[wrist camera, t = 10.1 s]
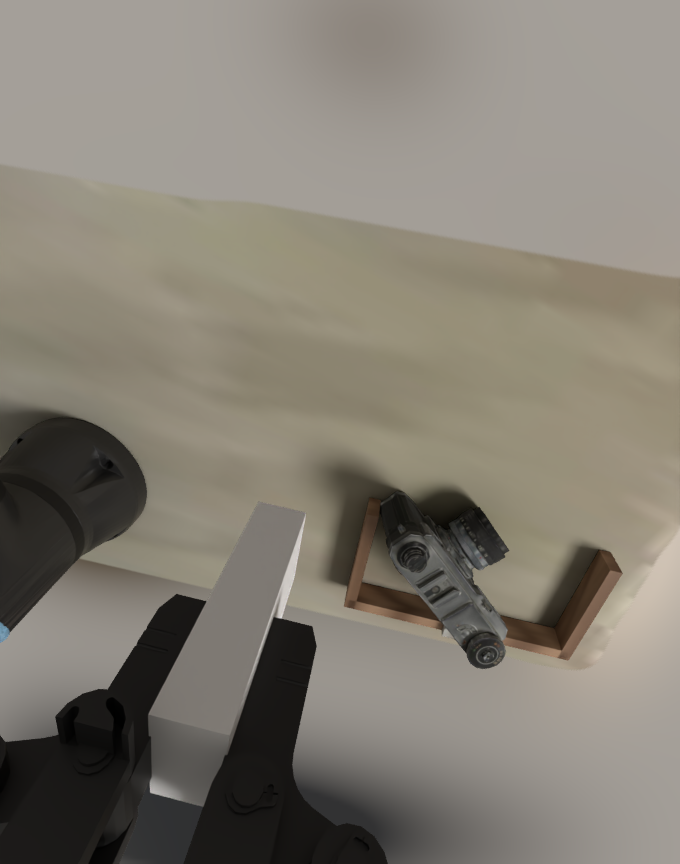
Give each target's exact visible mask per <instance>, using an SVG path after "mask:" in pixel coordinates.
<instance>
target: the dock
mask: <svg viewBox="0 0 680 864" xmlns="http://www.w3.org/2000/svg"><path fill="white" fill-rule="evenodd" d="M380 502H381V500H378V499H374V498H369V502H368V506H367V510H366V514H365V518H364V522H363V526H362V530H361V534H360V538H359V542H358V546H357V550H356V554H355V558H354V562H353V566H352V570H351V574H350V578H349V582H348V587H347V592H346V598H345V604H344V607H348V608H353V609H357V610H361V611H365V612H369V613H373V614H377V615H382V616H386V617H390V618H394V619H398V620H402V621H407V622H411V623H415V624H419V625H423V626H427V627H431V628H436V629H440V630H442V636H444V637H448V638H452V639H454V637H453V636H452V635H451V634H450V632H449V631H448V630H447V629H446V628H445V626H444V625H443V624H442V623H441V621H440V620H439V619H438V618H437V616H436V615H435V614H434V613H433V611H432V610H431V609H430V608H429V606H428V605H427V604H426V603H425V602H424V600H423V599H422V598H421V597H420V596H416V595H412V594H408V593H404V592H400V591H395V590H391V589H387V588H383V587H379V586H374V585H370V584H366V583H362V578H363V575H364V571H365V567H366V563H367V560H368V556H369V552H370V548H371V545H372V541H373V537H374V533H375V530H376V526H377V522H378V518H379V511H380ZM622 574H623V573H622V571H621V570H620V568H619V566H618V564H617V563H616V561H615V559H614V557H613V555H612V554H611V552H606V551H602V550H599V551H598V553H597V554H596V556H595V558H594V560H593V561H592V563H591V565H590V567H589V568H588V570H587V572H586V574H585V575H584V577H583V579H582V581H581V582H580V584H579V586H578V588H577V589H576V591H575V593H574V595H573V596H572V598H571V600H570V602H569V603H568V605H567V607H566V609H565V610H564V612H563V614H562V616H561V617H560V619H559V621H558V623H557V624H556V626H555V628H551V627H547V626H543V625H538V624H534V623H530V622H526V621H522V620H517V619H513V618H509V617H505V616H501V615H500V616H501V618H502V620H503V621H504V623H505V625H506V627H507V629H508V631H507V634H506V638H505V640H503V641H502V642H503V644H504V645H506V646H510V647H515V648H519V649H523V650H527V651H531V652H535V653H539V654H544V655H548V656H552V657H556V658H560V659H564V660H569V659H570V657H571V655H572V654H573V652H574V651H575V649H576V647H577V646H578V644H579V643H580V641H581V639H582V638H583V636H584V635H585V633H586V631H587V630H588V628H589V627H590V625H591V623H592V622H593V620H594V618H595V617H596V615H597V614H598V612H599V610H600V609H601V607H602V606H603V604H604V602H605V601H606V599H607V598H608V596H609V594H610V593H611V591H612V590H613V588H614V586H615V585H616V583H617V582H618V580H619V578H620V577H621V575H622Z"/></svg>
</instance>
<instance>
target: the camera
mask: <svg viewBox="0 0 680 864" xmlns="http://www.w3.org/2000/svg"><path fill="white" fill-rule="evenodd" d="M380 514H381V518H382V521H383V525H384V529H385V534H386V537H387V539H386V543H387V546H388V548H389V555H390V557H391V559H392V560H393V563H394V565H395V567H396V568H397V570H398V571H399V573H400V574H403V575H404V577H405V578H406V579H407V580H408V582H409V583H410V584H411V585H412V587H413V588H414V589H415V590H416V592H417V593H418V594H419V595H420V597H421V598H422V599H423V600H424V602H425V603H426V604H427V605H428V606H429V608H430V609H431V610H432V611H433V613H434V614H435V615H436V616H437V618H438V619H439V620H440V621H441V623H442V624H443V625H444V626H445V628H446V629H447V630H448V631H449V632H450V634H451V635H452V636H453V637H454V639H455V640H456V641H457V642H458V644H459V645H460V646H461V647H462V649H463V650H464V651H465V652H466V653H467V658H468V660H469V662H470V663H471V664H472V665H473V666H475V667H476V668H481V669H485V668H491V667H494V666H496V665H498V664H499V663H500V662H501V661H502V659H503V658H504V656H505V652H506V650H505V646H504V644H503V642H502V641H503V640H505V638H506V634H507V631H508V629H507V627H506V625H505V623H504V621H503V620H502V618H501V616H500V615H499V614H498V612H497V611H496V610H495V608H494V607H493V606H492V605H491V603H490V602H489V601H488V599H487V598H486V596H485V595H484V594H483V592H482V591H481V590H480V588H479V587H478V586H477V585H474V581H473V579H472V577H473V573H472V569H473V568H474V567H475V568H476V569H478V570H482V569H484V567H486V566H488V565H492V564H494V563H496V562H498V561H500V560H501V559H503V558H505V555H504V554H505V553H506V552H508V551H509V549H508V548H507V546H506V545H505V544H504V542H503V541H502V539H501V538H500V536H499V535H498V533H497V532H496V530H495V529H494V527H493V526H492V525H491V523H490V521H489V520H488V518H487V517H486V515H485V514H484V513H483V511H482V510H481V509H480V507H478V508H477V509H475V510H474V511H473V509H472V508H470V509H469V510H467V511H465V512H464V513H462V515H460V516H459V517H458V519H456V520H454V521H452V522H450V523H449V524H448V525H449V528H450V529H449V530H445V529H444V528H443V527H441V526H440V525H438V527H437V526H436V524H435V523H434V522H433V521H432V519H431V518H430V517H429V516H428V515H427V516H425V517H424V515H423V514H422V513H421V511H420V510H419V509H418V507H417V506H416V505H415V503H414V502H413V501H412V500H411V499H410V498H409V497H408V496H407V495H406V494H405V493H402V492H395V493H394V494H392V495H391V496H390V497H388V498H387V499H386V500H384V501H383V502H381V503H380Z"/></svg>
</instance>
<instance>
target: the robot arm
mask: <svg viewBox="0 0 680 864" xmlns="http://www.w3.org/2000/svg"><path fill="white" fill-rule="evenodd" d="M146 497H147V490H146V483H145V479H144V476H143V474H142V471H141V469H140V467H139V465H138V463H137V462H136V460H135V459H134V457H133V456H132V455H131V453H130V452H129V451H128V450H127V449H126V448H125V447H124V446H123V445H122V444H121V443H120V442H119V441H118V440H117V439H116V438H114V437H113V436H112V435H110V434H109V433H107V432H106V431H104V430H102V429H101V428H99V427H97V426H95V425H92V424H90V423H87V422H84V421H81V420H77V419H71V418H54V419H49V420H46V421H43V422H41V423H39V424H37V425H36V426H34V427H32V428H30V429H29V430H27V431H25V432H24V433H22V434H21V435H20V436H19V437H18V438H17V439H16V440H15V441H14V442H13V444H12V445H11V447H10V448H9V450H8V452H7V453H6V454H5V455H4V456H3V457H2V458H1V460H0V643H1V642H3V641H4V640H5V639H6V638H7V637H8V635H9V633H10V632H11V631H12V629H13V628H14V627H15V626H16V625H17V624H18V623H19V622H20V621H21V620H22V619H23V618H24V617H25V615H26V614H27V613H28V612H29V611H30V610H31V609H32V608H33V607H34V606H35V605H36V604H37V603H38V601H39V600H40V599H41V598H42V597H43V596H44V595H45V594H46V593H47V592H48V591H49V590H50V589H51V587H52V586H53V585H54V584H55V583H56V582H57V581H58V580H59V579H60V578H61V577H62V576H63V574H65V572H66V571H67V570H68V569H69V568H70V567H71V566H72V565H73V564H74V563H75V562H76V561H77V560H78V559H79V558H80V557H81V556H82V555H84V554H86V553H87V552H89V551H91V550H92V549H94V548H95V547H97V546H99V545H101V544H102V543H104V542H106V541H109V540H112V539H114V538H116V537H118V536H120V535H121V534H123V533H124V532H125V531H126V530H128V529H129V527H130V526H131V525H132V524H133V523H134V522H135V521H136V520H137V518H138V517H139V516H140V515H141V513H142V511H143V509H144V507H145V504H146ZM305 517H306V513H305V512H301V511H297V510H293V509H288V508H284V507H280V506H276V505H271V504H267V503H263V502H259V501H258V503H257V505H256V507H255V509H254V511H253V513H252V515H251V517H250V519H249V521H248V523H247V525H246V527H245V528H244V530H243V532H242V534H241V536H240V538H239V540H238V542H237V544H236V546H235V548H234V550H233V552H232V554H231V556H230V557H229V559H228V561H227V563H226V565H225V567H224V569H223V571H222V573H221V575H220V577H219V579H218V581H217V583H216V584H215V586H214V588H213V590H212V592H211V594H210V596H209V598H208V600H207V601H203V600H199V599H194V598H191V597H186V596H182V595H178V594H176V595H175V596H174V597H172V598H171V599H170V600H168V601H167V602H166V603H165V604H163V605H162V606H161V607H160V608H159V609H158V610H157V612H156V613H155V615H154V617H153V618H152V620H151V621H150V623H149V624H148V626H147V629H146V631H144V632H143V634H142V636H141V637H140V639H139V640H138V642H137V645H136V646H135V647H134V648H133V650H132V652H131V653H130V655H129V657H128V658H127V659H126V661H125V663H124V664H123V666H122V668H121V669H120V671H119V672H118V674H117V675H116V677H115V679H114V680H113V682H112V683H111V685H110V687H109V688H108V690H107V689H98V690H94V691H91V692H87V693H84V694H82V695H80V696H78V697H77V698H75V699H74V700H72V701H71V702H69V703H67V704H66V706H65V707H64V708H63V709H62V710H61V711H60V712H59V713H58V714H57V715H56V717H55V718H56V723H57V728H58V733H59V735H56V736H52V737H47V738H41V739H31V740H22V741H12V742H5V741H4V740H3V738H2V737H1V736H0V864H119V863H120V861H121V858H122V856H123V854H124V852H125V849H126V847H127V845H128V843H129V840H130V838H131V836H132V833H133V831H134V828H135V825H136V821H137V817H138V806H139V804H140V801H141V800H142V797H143V795H144V793H145V791H146V789H147V786H148V784H149V782H150V793H154V794H157V795H161V796H165V797H169V798H172V799H176V800H180V801H184V802H187V803H191V804H195V805H198V806H202V807H203V809H202V812H201V815H200V818H199V821H198V824H197V827H196V829H195V832H194V835H193V838H192V841H191V844H190V847H189V850H188V853H187V855H186V858H185V861H184V864H388V863H387V860H386V856H385V853H384V851H383V849H382V848H381V846H380V845H379V843H378V842H377V840H376V838H375V837H374V836H373V835H372V834H370V833H369V832H368V831H366V830H365V829H364V828H362V827H361V826H357V825H352V824H348V823H346V824H342V825H339V826H336V825H335V824H333V823H332V822H331V821H329V820H328V819H327V818H325V817H324V816H323V815H321V814H320V813H319V812H317V811H316V810H315V809H313V808H312V807H311V806H310V805H309V804H308V803H307V802H306V801H305V800H304V798H303V797H302V795H301V794H300V792H299V790H298V788H297V786H296V783H295V780H294V776H293V768H292V762H293V753H294V748H295V744H296V739H297V734H298V730H299V725H300V720H301V716H302V711H303V707H304V702H305V697H306V693H307V688H308V683H309V679H310V674H311V670H312V665H313V660H314V656H315V651H316V641H315V637H314V632H313V627H312V626H309V625H305V624H300V623H297V622H292V621H288V620H284V619H281V618H282V615H283V612H284V609H285V606H286V603H287V599H288V596H289V593H290V590H291V587H292V584H293V580H294V577H295V571H296V566H297V561H298V555H299V550H300V544H301V539H302V533H303V528H304V522H305Z"/></svg>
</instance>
